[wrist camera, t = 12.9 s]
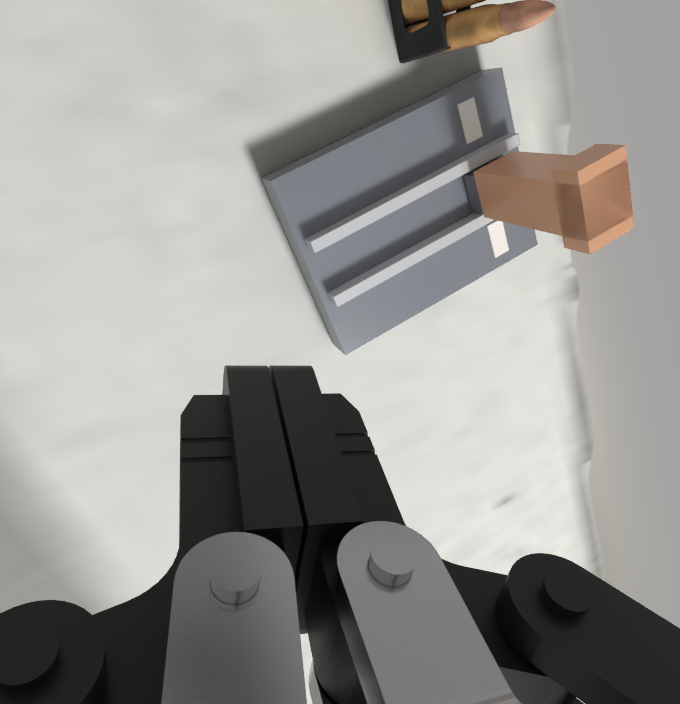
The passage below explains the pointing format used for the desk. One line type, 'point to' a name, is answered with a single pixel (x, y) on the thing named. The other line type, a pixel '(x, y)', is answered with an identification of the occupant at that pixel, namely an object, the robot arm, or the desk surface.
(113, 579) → the desk surface
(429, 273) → the fader console
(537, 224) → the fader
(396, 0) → the ammunition clip
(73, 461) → the desk surface
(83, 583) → the desk surface
